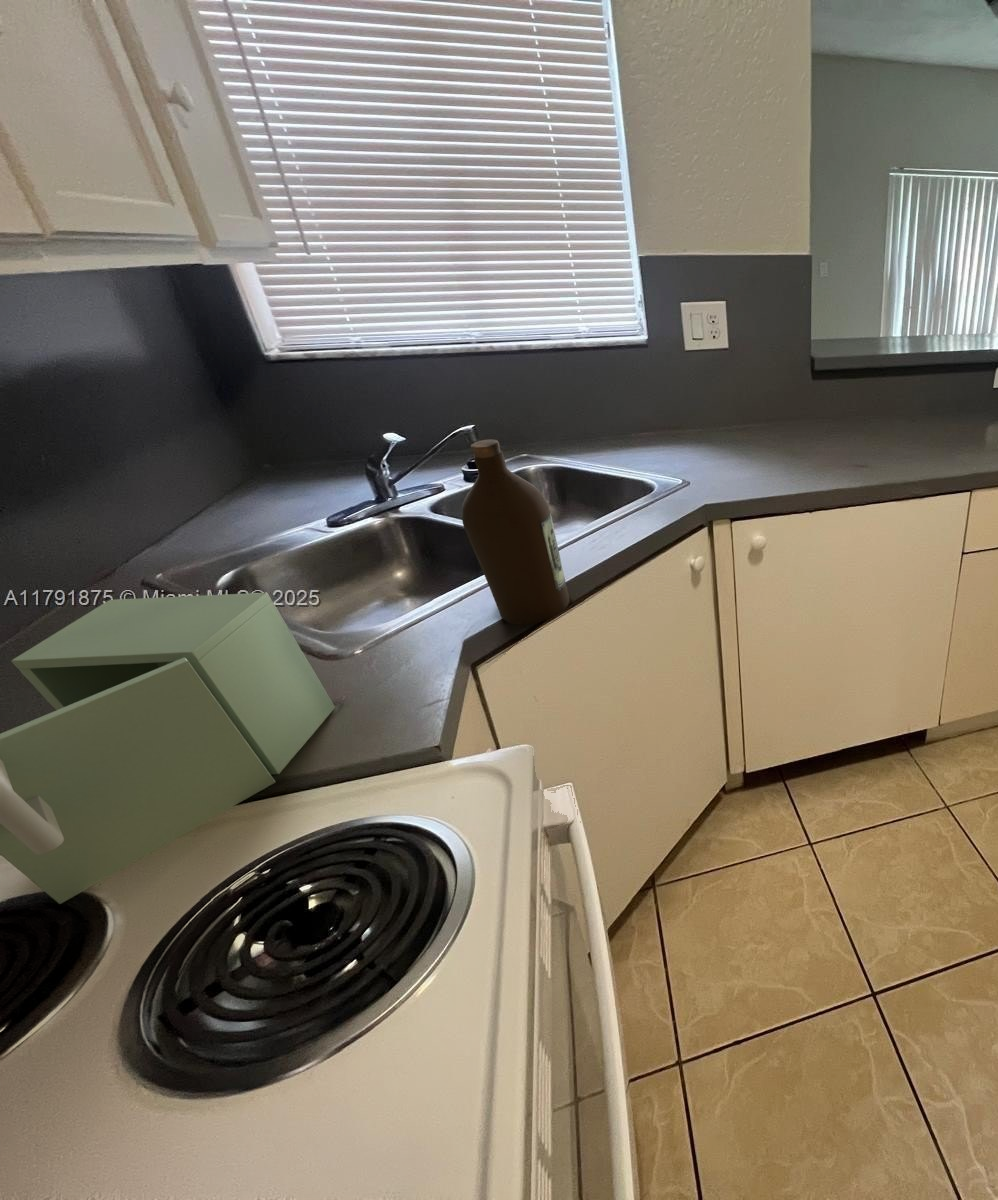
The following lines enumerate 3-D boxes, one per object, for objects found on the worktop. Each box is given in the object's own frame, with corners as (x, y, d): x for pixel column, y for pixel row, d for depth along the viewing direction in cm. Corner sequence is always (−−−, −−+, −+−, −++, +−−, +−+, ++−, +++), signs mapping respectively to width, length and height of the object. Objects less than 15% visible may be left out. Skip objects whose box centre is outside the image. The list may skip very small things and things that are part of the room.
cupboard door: (302, 815, 61) (209, 685, 52) (81, 950, 51) (-85, 817, 42) (276, 783, 65) (184, 656, 56) (64, 904, 54) (-93, 771, 45)
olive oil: (498, 640, 85) (434, 464, 71) (497, 602, 93) (439, 437, 79) (579, 621, 88) (532, 449, 74) (571, 585, 96) (527, 424, 83)
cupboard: (283, 781, 65) (191, 652, 56) (128, 788, 65) (9, 660, 56) (339, 714, 74) (267, 592, 64) (201, 720, 73) (109, 599, 64)
